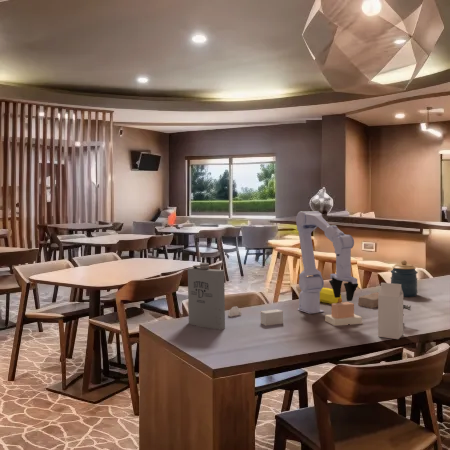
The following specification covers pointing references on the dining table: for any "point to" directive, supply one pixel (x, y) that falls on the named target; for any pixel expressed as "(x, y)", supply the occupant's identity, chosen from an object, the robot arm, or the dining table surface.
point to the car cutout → (234, 311)
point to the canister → (405, 278)
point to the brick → (369, 300)
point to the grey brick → (271, 317)
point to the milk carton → (390, 311)
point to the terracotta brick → (342, 310)
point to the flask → (206, 297)
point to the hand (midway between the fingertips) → (343, 299)
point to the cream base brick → (343, 320)
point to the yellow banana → (329, 296)
